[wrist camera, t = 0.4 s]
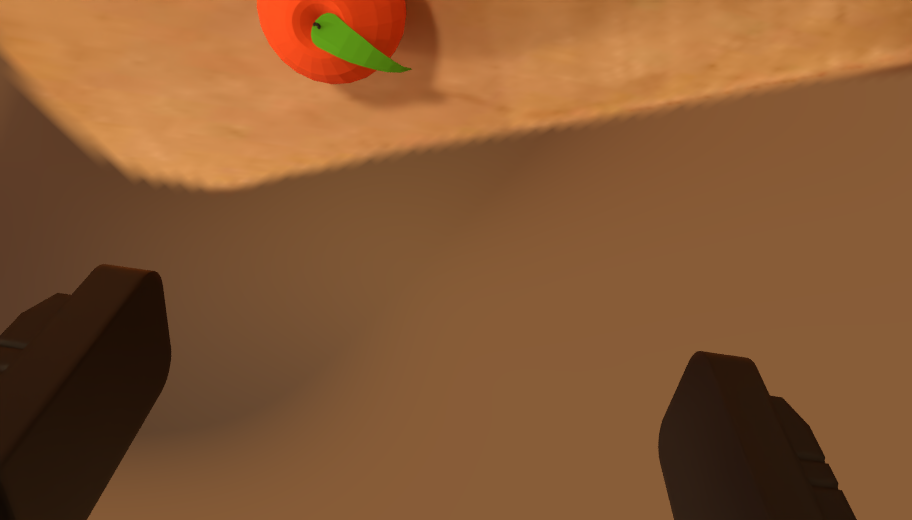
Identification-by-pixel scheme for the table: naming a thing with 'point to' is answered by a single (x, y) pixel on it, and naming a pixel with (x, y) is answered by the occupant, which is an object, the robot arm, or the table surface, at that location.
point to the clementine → (334, 36)
